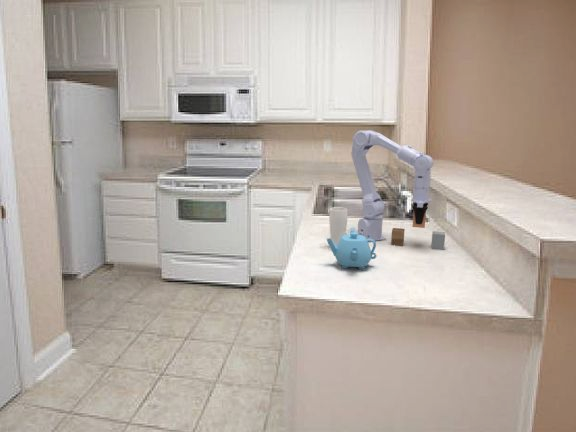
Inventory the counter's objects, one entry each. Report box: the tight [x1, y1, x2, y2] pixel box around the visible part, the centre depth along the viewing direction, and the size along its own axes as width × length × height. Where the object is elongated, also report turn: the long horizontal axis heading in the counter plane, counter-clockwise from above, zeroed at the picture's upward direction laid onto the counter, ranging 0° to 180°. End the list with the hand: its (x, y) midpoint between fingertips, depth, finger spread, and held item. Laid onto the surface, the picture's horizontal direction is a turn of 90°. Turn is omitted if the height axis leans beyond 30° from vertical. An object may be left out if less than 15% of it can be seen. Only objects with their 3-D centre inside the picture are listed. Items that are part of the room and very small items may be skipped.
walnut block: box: [390, 227, 405, 247], centre depth 171 cm, size 4×4×6 cm
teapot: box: [326, 226, 377, 271], centre depth 145 cm, size 15×14×11 cm
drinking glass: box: [328, 206, 349, 246], centre depth 165 cm, size 7×7×15 cm
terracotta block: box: [412, 211, 427, 229], centre depth 167 cm, size 4×4×6 cm
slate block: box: [430, 230, 446, 251], centre depth 167 cm, size 4×4×6 cm
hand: (418, 222), depth 168 cm, fingers closed on terracotta block, 4 cm apart
